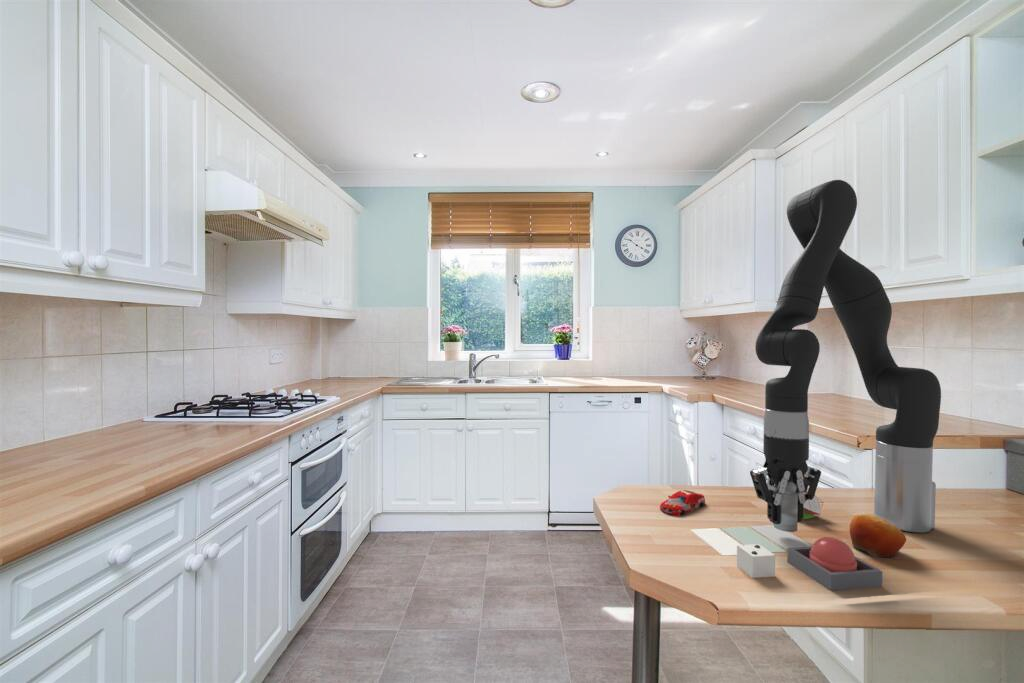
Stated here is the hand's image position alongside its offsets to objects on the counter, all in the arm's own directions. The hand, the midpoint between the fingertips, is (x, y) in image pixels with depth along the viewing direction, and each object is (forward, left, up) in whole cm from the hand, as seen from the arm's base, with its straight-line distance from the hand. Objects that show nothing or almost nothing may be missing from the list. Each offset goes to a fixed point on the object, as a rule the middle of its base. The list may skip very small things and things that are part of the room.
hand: (785, 521), depth 89 cm
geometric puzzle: (-12, -9, -4) cm, 16 cm away
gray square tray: (+2, +13, -4) cm, 14 cm away
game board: (+7, 0, -4) cm, 8 cm away
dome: (+2, +13, -3) cm, 14 cm away
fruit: (-13, +7, -4) cm, 15 cm away
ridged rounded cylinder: (0, 0, -1) cm, 1 cm away
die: (+14, +11, -4) cm, 18 cm away
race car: (+11, -18, -4) cm, 21 cm away
